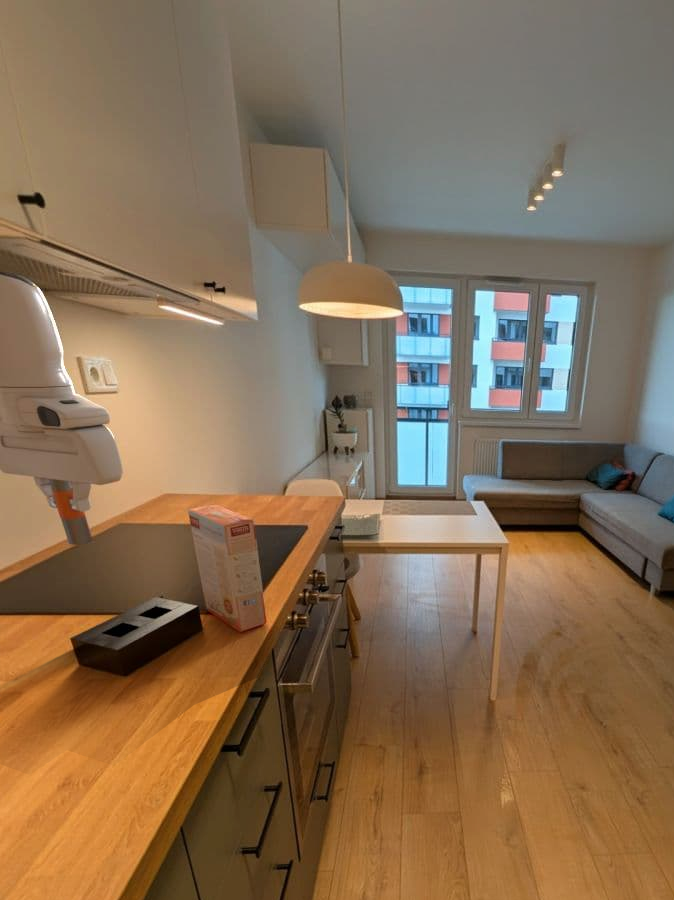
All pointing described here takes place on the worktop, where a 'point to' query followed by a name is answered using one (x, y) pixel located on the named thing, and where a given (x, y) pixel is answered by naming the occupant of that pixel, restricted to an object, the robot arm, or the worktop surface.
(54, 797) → the worktop surface
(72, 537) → the orange banded battery
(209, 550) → the cracker box
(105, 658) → the holder
